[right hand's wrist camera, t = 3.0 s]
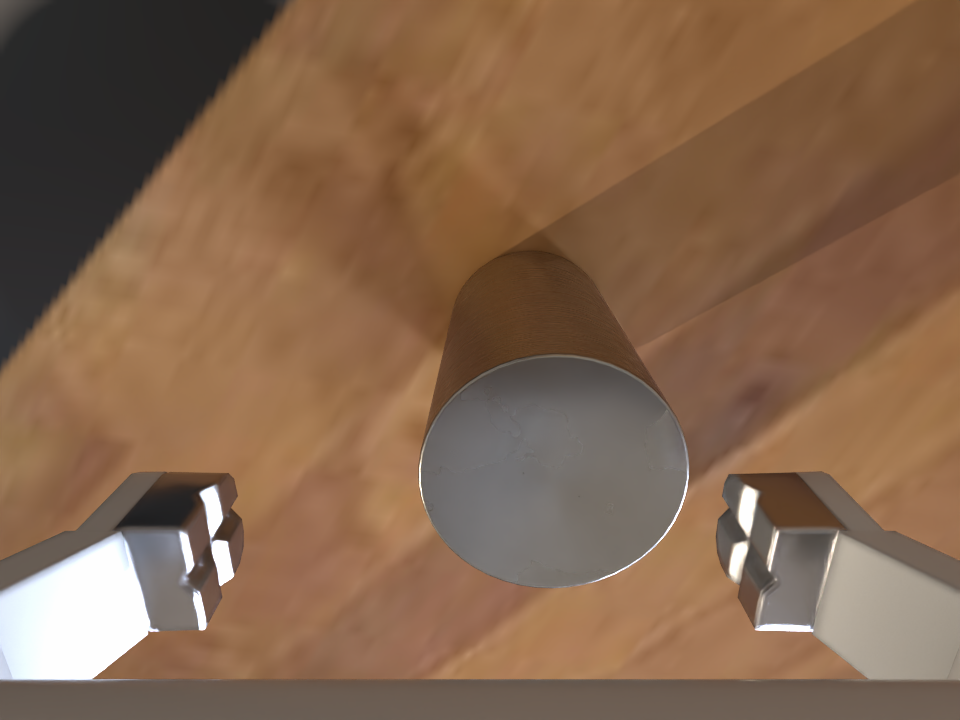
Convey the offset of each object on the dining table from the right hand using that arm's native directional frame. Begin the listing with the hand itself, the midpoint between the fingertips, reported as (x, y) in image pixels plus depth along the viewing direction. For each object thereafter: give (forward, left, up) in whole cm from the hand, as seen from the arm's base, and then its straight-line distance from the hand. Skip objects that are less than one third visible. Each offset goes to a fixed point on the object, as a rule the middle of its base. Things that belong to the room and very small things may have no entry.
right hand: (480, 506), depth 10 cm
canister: (-1, -1, -11) cm, 11 cm away
